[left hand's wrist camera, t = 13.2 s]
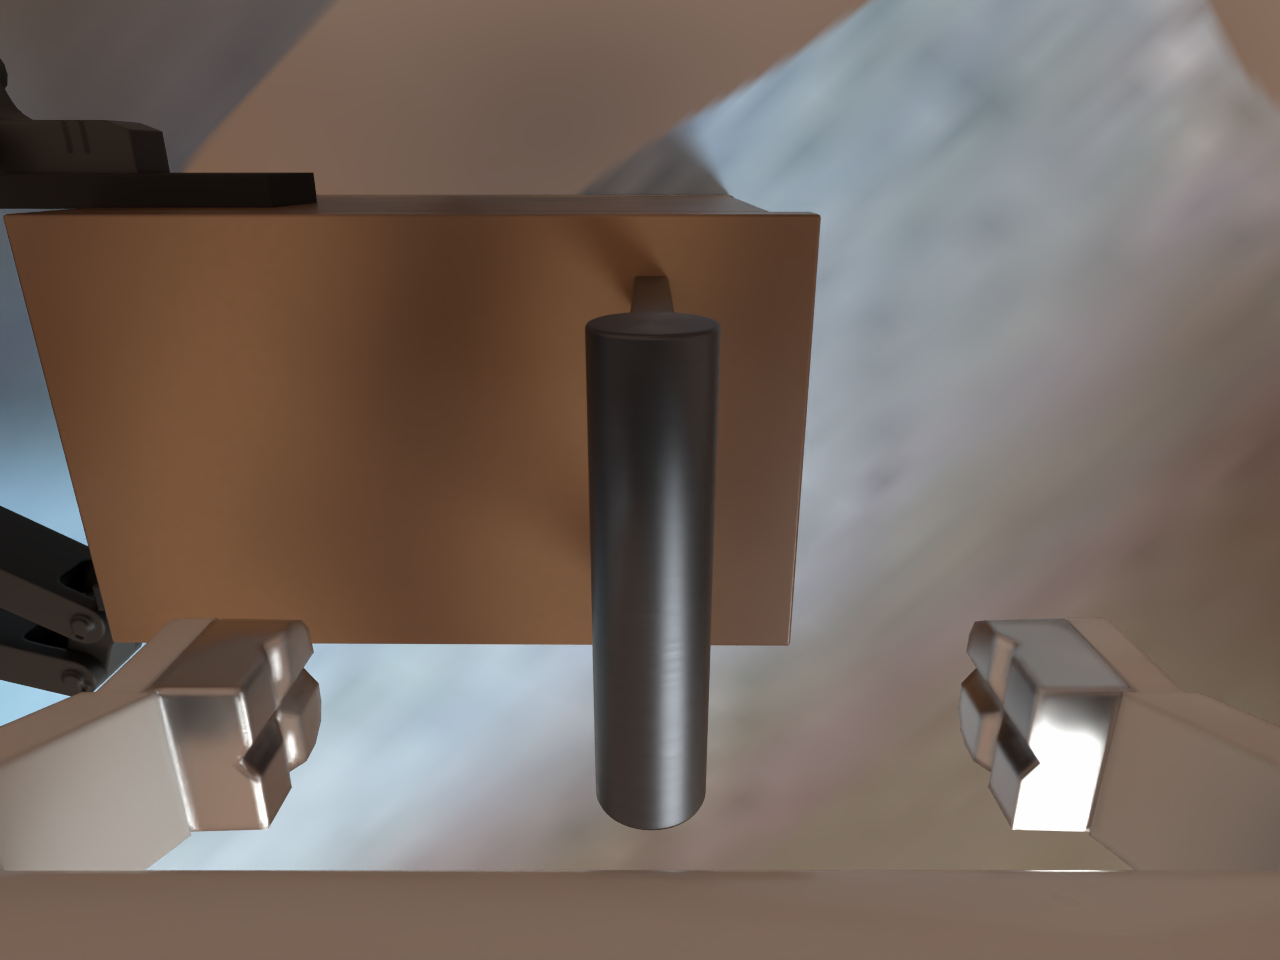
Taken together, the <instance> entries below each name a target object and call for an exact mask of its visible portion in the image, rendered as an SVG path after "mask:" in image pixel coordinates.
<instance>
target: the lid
mask: <svg viewBox="0 0 1280 960" xmlns="http://www.w3.org/2000/svg"><path fill="white" fill-rule="evenodd" d="M820 221H821V217H820V215H818V214H815V213H812V212H30V213H17V214H6V215H4V222H5V226H6V229H7V233H8V237H9V241H10V245H11V249H12V253H13V256H14V260H15V264H16V268H17V272H18V276H19V280H20V284H21V287H22V291H23V295H24V299H25V303H26V307H27V311H28V314H29V318H30V322H31V326H32V330H33V334H34V338H35V342H36V345H37V349H38V353H39V357H40V361H41V365H42V369H43V372H44V376H45V380H46V384H47V388H48V392H49V396H50V400H51V403H52V407H53V411H54V415H55V419H56V423H57V427H58V430H59V434H60V438H61V442H62V446H63V450H64V454H65V458H66V461H67V465H68V469H69V473H70V477H71V481H72V485H73V488H74V492H75V496H76V500H77V504H78V508H79V512H80V516H81V519H82V523H83V527H84V531H85V535H86V539H87V543H88V546H89V550H90V554H91V558H92V562H93V566H94V570H95V574H96V577H97V581H98V585H99V589H100V593H101V597H102V601H103V604H104V608H105V612H106V616H107V620H108V624H109V628H110V632H111V635H112V639H113V642H121V643H148V642H149V641H150V640H151V639H152V638H153V637H154V636H155V635H156V634H157V633H158V632H159V631H160V630H161V629H162V628H163V627H164V626H165V625H166V624H167V623H168V622H170V621H171V620H175V619H182V618H218V619H223V618H224V619H277V620H302V621H303V622H304V623H305V624H306V626H307V627H308V628H309V631H310V636H311V641H312V643H347V644H573V645H593V686H594V727H595V769H596V795H597V799H598V801H599V803H600V805H601V807H602V808H603V810H604V811H605V812H606V813H607V814H608V815H609V816H610V817H611V818H613V819H614V820H615V821H617V822H619V823H621V824H623V825H626V826H628V827H632V828H636V829H642V830H661V829H667V828H671V827H674V826H677V825H679V824H681V823H683V822H685V821H687V820H688V819H690V818H691V817H692V816H693V815H695V813H696V812H697V811H698V810H699V808H700V807H701V805H702V803H703V801H704V798H705V792H706V762H707V733H708V703H709V674H710V645H789V643H790V634H791V620H792V606H793V592H794V578H795V565H796V551H797V537H798V523H799V510H800V496H801V482H802V468H803V455H804V441H805V427H806V413H807V400H808V386H809V372H810V358H811V344H812V331H813V317H814V303H815V289H816V276H817V262H818V248H819V234H820Z"/></svg>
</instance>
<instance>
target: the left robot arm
mask: <svg viewBox="0 0 1280 960" xmlns="http://www.w3.org/2000/svg"><path fill="white" fill-rule="evenodd" d="M313 652H314V651H313V646H312V641H311V636H310V631H309V628H308V627H307V626H306V624H305V623H304V622H303V621H302V620H277V619H224V618H223V619H218V618H182V619H175V620H171V621H170V622H168V623H167V624H166V625H165V626H164V627H163V628H162V629H161V630H160V631H159V632H158V633H157V634H156V635H155V636H154V637H153V638H152V639H151V640H150V641H149V642H148V643H146V644H145V645H144V646H143V647H142V648H141V649H140V650H139V651H138V652H137V653H136V654H135V655H134V656H133V657H132V658H131V659H130V660H129V661H128V662H127V663H125V664H124V665H123V666H122V667H121V668H120V669H119V670H118V671H117V672H116V673H115V674H114V675H113V676H112V677H111V678H110V679H109V680H108V681H107V682H106V683H105V684H103V685H102V686H101V687H100V688H99V689H98V690H97V691H96V692H81V693H78V694H76V695H74V696H71V697H69V698H67V699H64V700H62V701H60V702H57V703H55V704H52V705H50V706H48V707H45V708H43V709H41V710H38V711H36V712H34V713H31V714H29V715H26V716H24V717H22V718H19V719H17V720H15V721H12V722H10V723H7V724H5V725H3V726H0V960H1280V727H1279V726H1277V725H1275V724H1272V723H1270V722H1268V721H1265V720H1263V719H1261V718H1258V717H1256V716H1253V715H1251V714H1249V713H1246V712H1244V711H1242V710H1239V709H1237V708H1235V707H1232V706H1230V705H1227V704H1225V703H1223V702H1220V701H1218V700H1216V699H1213V698H1211V697H1209V696H1206V695H1204V694H1202V693H1199V692H1184V691H1183V690H1182V689H1181V688H1180V687H1179V686H1178V685H1177V684H1176V683H1175V682H1173V681H1172V680H1171V679H1170V678H1169V677H1168V676H1167V675H1166V674H1165V673H1164V672H1163V671H1162V670H1161V669H1160V668H1159V667H1158V666H1157V665H1156V664H1155V663H1154V662H1153V661H1152V660H1150V659H1149V658H1148V657H1147V656H1146V655H1145V654H1144V653H1143V652H1142V651H1141V650H1140V649H1139V648H1138V647H1137V646H1136V645H1135V644H1134V643H1133V642H1132V641H1131V640H1130V639H1129V638H1127V637H1126V636H1125V635H1124V634H1123V633H1122V632H1121V631H1120V630H1119V629H1118V628H1117V627H1116V626H1115V625H1114V624H1113V623H1112V622H1111V621H1109V620H1106V619H1103V618H1099V617H1098V618H1074V619H1027V620H986V621H977V622H975V623H974V625H973V627H972V630H971V632H970V634H969V640H968V646H967V651H966V652H967V654H968V655H969V657H970V658H971V660H972V661H973V663H974V665H975V666H976V669H975V670H974V671H973V672H972V673H971V674H970V675H969V676H968V677H967V678H966V679H965V680H964V681H963V682H962V683H961V691H960V699H959V707H958V708H959V719H960V729H961V733H962V736H963V739H964V743H965V746H966V748H967V750H968V752H969V753H970V755H971V757H972V759H973V761H974V762H976V763H977V764H979V765H981V766H982V767H984V768H985V769H987V770H988V771H990V772H991V775H990V781H989V786H988V788H989V789H990V791H991V793H992V795H993V796H994V798H995V800H996V802H997V803H998V805H999V807H1000V809H1001V810H1002V812H1003V814H1004V816H1005V817H1006V819H1007V821H1008V823H1009V824H1010V826H1011V828H1012V829H1015V830H1052V831H1089V835H1090V836H1091V837H1092V838H1094V839H1095V840H1096V841H1098V842H1099V843H1100V844H1102V845H1103V846H1104V847H1105V848H1107V849H1108V850H1109V851H1111V852H1112V853H1113V854H1115V855H1116V856H1117V857H1119V858H1120V859H1121V860H1122V861H1124V862H1125V863H1126V864H1128V865H1129V866H1130V867H1132V868H1133V869H1134V870H774V871H605V870H604V871H599V870H598V871H594V870H593V871H591V870H590V871H588V870H587V871H586V870H584V871H583V870H581V871H580V870H146V869H147V868H149V867H150V866H151V865H153V864H154V863H155V862H156V861H158V860H159V859H160V858H162V857H163V856H164V855H166V854H167V853H168V852H170V851H171V850H172V849H174V848H175V847H176V846H177V845H179V844H180V843H181V842H183V841H184V840H185V839H187V838H188V837H189V836H190V835H191V833H190V832H191V831H227V830H262V829H268V828H269V826H270V825H271V823H272V821H273V819H274V818H275V816H276V814H277V812H278V811H279V809H280V807H281V805H282V804H283V802H284V800H285V798H286V796H287V795H288V793H289V791H290V789H291V788H292V786H291V781H290V775H289V772H290V771H292V770H293V769H295V768H296V767H298V766H299V765H301V764H303V763H304V762H306V761H307V759H308V757H309V755H310V753H311V751H312V750H313V748H314V746H315V744H316V739H317V735H318V731H319V727H320V722H321V696H320V689H319V683H318V682H317V681H316V680H315V679H314V678H313V677H312V676H311V675H310V674H309V673H308V672H307V671H306V670H305V669H304V666H305V665H306V663H307V661H308V660H309V658H310V657H311V655H312V654H313Z"/></svg>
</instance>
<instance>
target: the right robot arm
mask: <svg viewBox="0 0 1280 960" xmlns="http://www.w3.org/2000/svg"><path fill="white" fill-rule="evenodd" d="M7 76H8V75H7V72H6V68H5V65H4V63H3V62H2V60H1V59H0V209H81V208H274V207H283V206H291V205H300V204H309V203H317V198H316V190H315V182H314V175H313V173H170V171H169V165H168V160H167V155H166V149H165V144H164V139H163V133H162V131H159V130H157V129H154V128H152V127H149V126H147V125H144V124H142V123H134V122H122V121H109V120H32V119H30V118H28V117H27V116H25V115H24V114H23V113H22V112H20V111H19V110H18V109H17V108H16V106H15V105H14V103H13V102H12V101H11V99H10V97H9V96H8V94H7V92H6V90H5V88H6V86H7ZM141 645H142V643H121V642H113V639H112V635H111V632H110V628H109V624H108V620H107V616H106V612H105V608H104V604H103V601H102V597H101V593H100V589H99V585H98V581H97V577H96V574H95V570H94V566H93V562H92V558H91V554H90V550H89V547H88V546H86V545H84V544H82V543H80V542H77V541H75V540H73V539H71V538H69V537H67V536H64V535H62V534H60V533H58V532H56V531H54V530H52V529H49V528H47V527H45V526H43V525H41V524H39V523H36V522H34V521H32V520H30V519H28V518H26V517H23V516H21V515H19V514H17V513H15V512H13V511H10V510H8V509H6V508H4V507H2V506H0V680H4V681H8V682H12V683H17V684H21V685H25V686H29V687H34V688H38V689H42V690H47V691H51V692H55V693H59V694H64V695H68V696H74V695H76V694H78V693H81V692H93V691H94V690H95V689H97V688H98V687H99V686H100V685H101V684H102V683H103V682H104V681H105V680H106V679H107V678H109V677H110V676H111V675H112V674H113V673H114V672H115V671H116V670H117V669H118V668H119V667H120V666H121V665H122V664H123V663H124V662H125V661H126V660H128V659H129V658H130V656H131V655H132V654H134V653H135V652H136V651H137V650H138V649H139V648H140V647H141Z"/></svg>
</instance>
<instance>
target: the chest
mask: <svg viewBox="0 0 1280 960" xmlns="http://www.w3.org/2000/svg"><path fill="white" fill-rule="evenodd" d="M316 198H317V203H309V204H300V205H291V206H283V207H274V208H81V209H68V210H55V211H42V212H768V211H766V210H763V209H761V208H758V207H756V206H753V205H751V204H748V203H746V202H743V201H741V200H738V199H736V198H733V196H731V195H316Z"/></svg>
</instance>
